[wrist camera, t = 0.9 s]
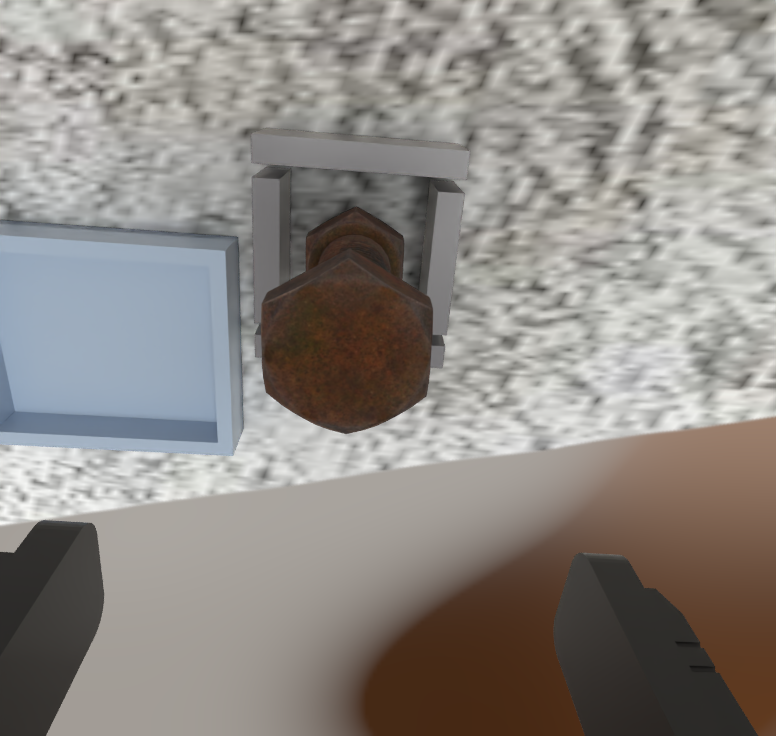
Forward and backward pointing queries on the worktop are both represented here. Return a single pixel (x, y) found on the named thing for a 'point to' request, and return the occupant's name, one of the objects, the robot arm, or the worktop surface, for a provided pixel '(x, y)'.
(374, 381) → the bolt
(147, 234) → the parts tray
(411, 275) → the worktop surface
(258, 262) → the holder
